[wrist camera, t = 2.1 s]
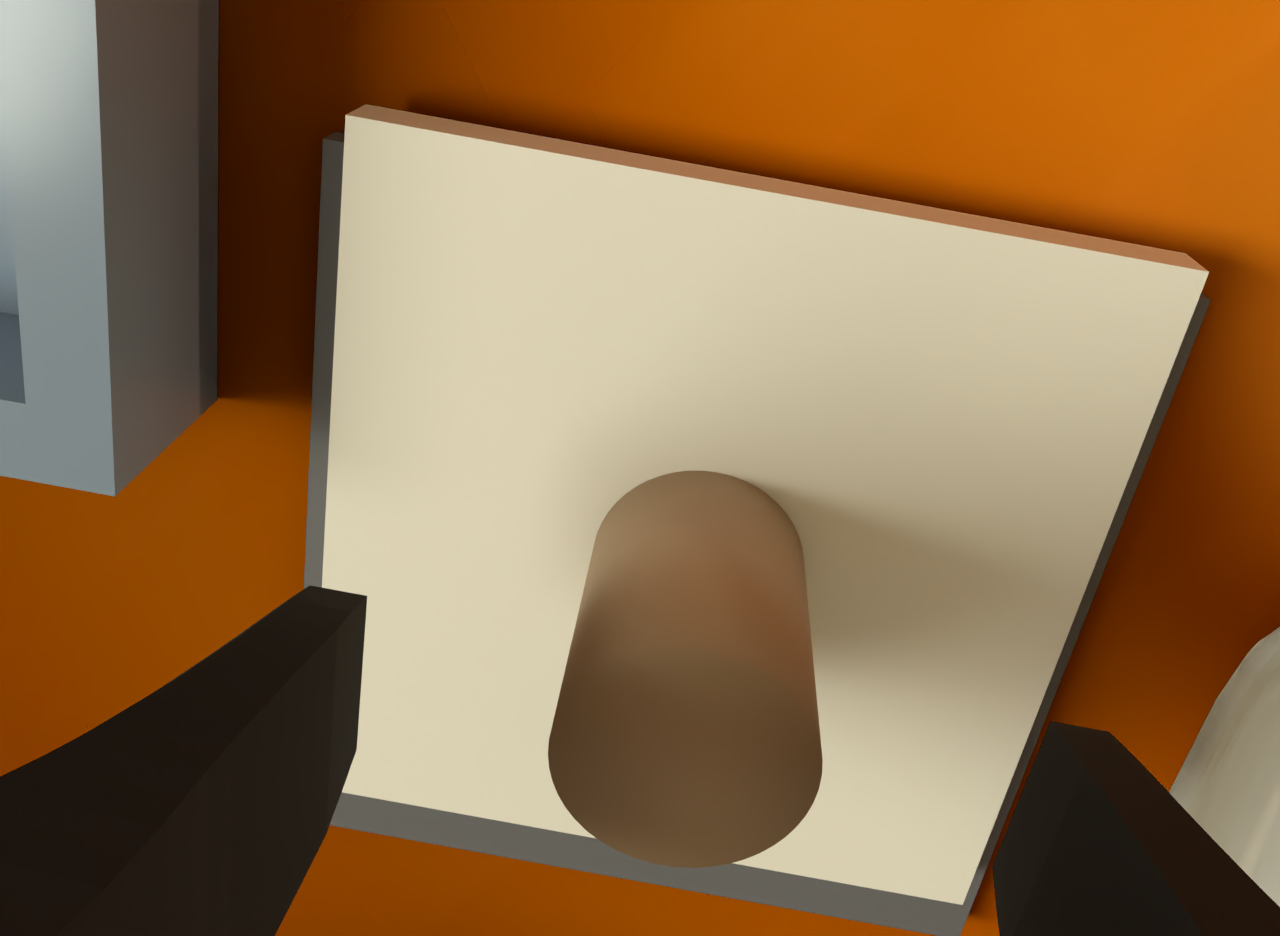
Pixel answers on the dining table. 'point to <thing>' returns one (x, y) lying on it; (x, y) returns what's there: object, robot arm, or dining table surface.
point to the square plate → (1241, 768)
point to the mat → (591, 851)
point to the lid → (718, 494)
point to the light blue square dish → (106, 234)
